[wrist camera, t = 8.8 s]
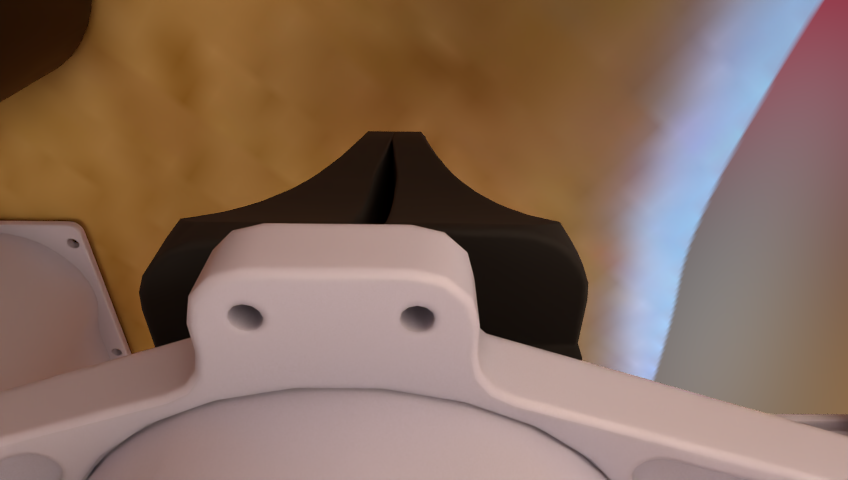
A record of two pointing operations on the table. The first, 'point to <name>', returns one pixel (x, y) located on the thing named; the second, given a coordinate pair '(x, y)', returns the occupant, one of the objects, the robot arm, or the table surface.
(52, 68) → the mug
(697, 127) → the table surface
